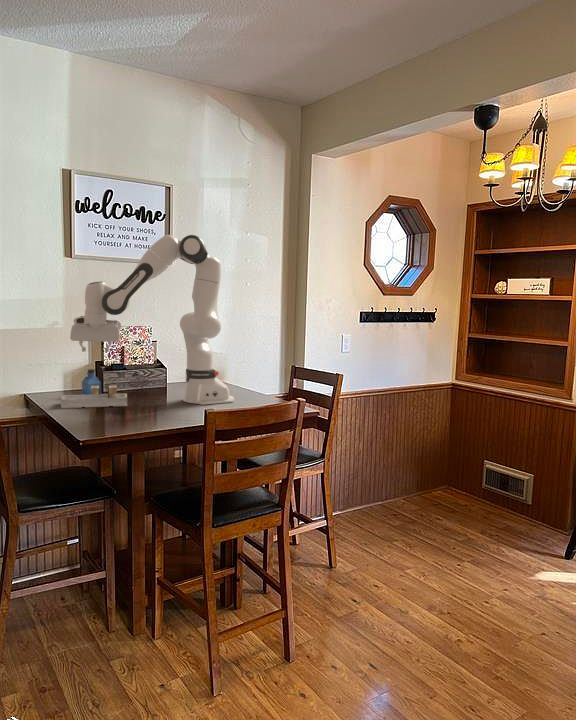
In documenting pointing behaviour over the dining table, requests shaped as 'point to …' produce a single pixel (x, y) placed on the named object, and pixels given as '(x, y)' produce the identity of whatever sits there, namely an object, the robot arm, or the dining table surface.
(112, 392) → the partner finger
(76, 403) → the rail
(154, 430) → the dining table surface
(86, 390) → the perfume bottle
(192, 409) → the dining table surface
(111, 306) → the robot arm
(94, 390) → the finger block
